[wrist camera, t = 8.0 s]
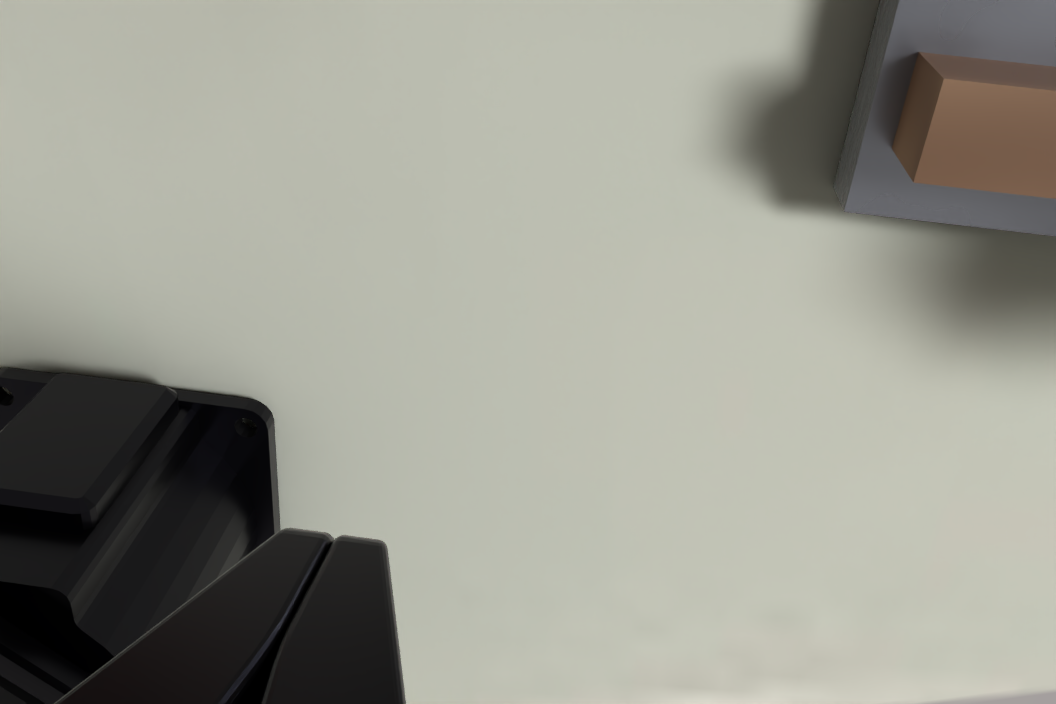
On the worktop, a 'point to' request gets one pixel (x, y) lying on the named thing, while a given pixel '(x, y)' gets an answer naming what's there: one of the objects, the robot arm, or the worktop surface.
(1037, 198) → the plate
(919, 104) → the beam
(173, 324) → the worktop surface
